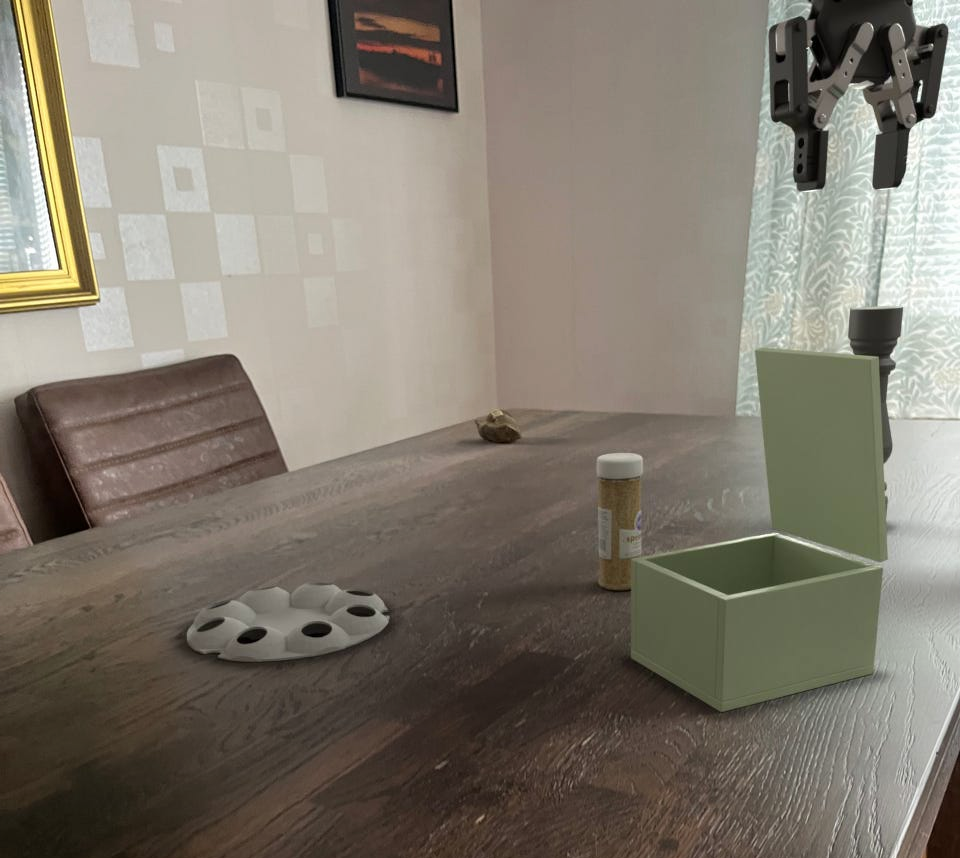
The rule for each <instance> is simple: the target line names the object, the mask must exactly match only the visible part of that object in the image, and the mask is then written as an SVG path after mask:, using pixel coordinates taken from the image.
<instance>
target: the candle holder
mask: <svg viewBox="0 0 960 858" xmlns="http://www.w3.org/2000/svg"><path fill="white" fill-rule="evenodd" d="M903 313H904V306H902V305H901V306H900V305H878V306H860V307H851V308H849V317H848V318H849V319H848V330H847V332H848V333H847V338H848V339H849V340H850V341H849V346H850V348H851V350H852V355H863V356H876V357H879V377H880V399H881V420H882V442H883V463H884V464H886V463H887V461H888V460H889V459H890V457H891V455H892V453H893V438H892V430H891V425H890V424H891V423H890V418H889V417H890V416H889V411H888V404H887V403H888V402H887V397H888V396H887V395H888V388H889V387H888V385H889V376H890V375H891V372H892V371H894V370H895V369H896V366H897V363H896V361H895V360H894V359H893V358H891V355H892V354H893V352H894V349H895V348H896V346H897V345H898V340H899V338H901V336H902V326H903V325H902V324H903V315H904V314H903ZM884 485H885V492H886V491H887V489H888V485H887V482H886V481H884ZM888 504H889V497H888V495H886V494H885V506H886V516H887V514H888Z"/></svg>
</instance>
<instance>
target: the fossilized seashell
mask: <svg viewBox="0 0 960 858" xmlns="http://www.w3.org/2000/svg"><path fill="white" fill-rule="evenodd" d="M474 423H475V424H476V428H477V431H478V434H479V435H478V436H479V437H480V438H481V439H483V440H486V441H490V442H491V441H493V442H496V443H511V442H515V441H517V440H521V439H522V438H523V437H522V433H521V430H520V427H519V423H518V420H517V419H516V418H515V417H514V416H512V414H511V413H509V412H508V411H506V410H505V409H501V408H496V409H494V410H492V411H491V412H490V413H489V414H488V415H487V416H485V418H484V419H483V420H480V419H479V420H478V419H475V420H474Z"/></svg>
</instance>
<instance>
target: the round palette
mask: <svg viewBox="0 0 960 858" xmlns="http://www.w3.org/2000/svg"><path fill="white" fill-rule="evenodd" d="M357 612H358V613H363V614H366V615H367V616H357V615H354V614H351V613H357ZM385 612H386V613H387V612H389V609H388V608H387V606H386V605H385V603H384V601H383V600H382V599H381V597H379V596H378V595H377V594H375V593H374V592H373V591H370V590H366V589H362V588H354V587H353V588H346V589H343V590H342V589H341V588H339V587H338V586H337V585H335V584H333V583H330V582H329V583H328V582H305V583H304V584H301V585H300V586H298V587H297V588H296V589H295V590H294V591H292V592H291V594H290V593H289V592H288V591H287V590H284V589H283V588H281V587H278V586H268V587H262V588H256V589H255V588H254V589H250V590H248V591H246V592H245V593H244V594H243V595H241V596H240V598H239V599H238V600H231V599H226V600H221V601H218V602H215V603H212V604H209V605H208V606H205V607H203V609H202V610H200V611H199V613H198V614H197V616H196V617H195V619H194V621H193V623H192V624H191V625H190V627H189V628H188V630H187V632H186V643H187V645H188V646H189V647H190V648H191V649H192V650H194V651H195V652H198V653H200V654H202V655H206V654H212V653H218V654H219V655H217V659H221V660H226V661H232V662H233V661H234V662H246V663H247V662H248V663H249V662H250V663H261V662H278V661H288V660H290V661H291V660H297V659H304V658H310V657H311V658H313V657H317V656H318V657H319V656H322V655H327V654H330V653H334V652H338V651H341V650H345V649H347V648H350V647H352V646H356V645H358V644H360V643H363V642H364V641H367V640H368V639H370V638H372V637H374V636H376V635H377V634H379V633H380V632H382V631H383V630H384V629H385V628H386V627H387V625H389V620H390V615H384V614H383V613H385ZM329 630H331V631H330V632H329V633H328V634H327V635H324V636H322V637H321V636H320V637H312V636H309V635H313V634H325V633H327V632H328V631H329ZM242 638H248V639H249V640H252V641H254V640H258V641H255V642H252V643H240V642H238V639H242Z"/></svg>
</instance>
